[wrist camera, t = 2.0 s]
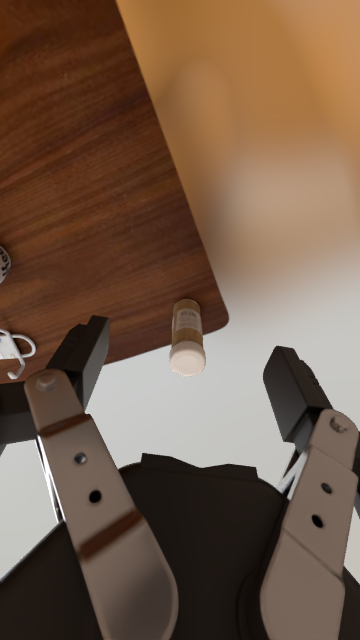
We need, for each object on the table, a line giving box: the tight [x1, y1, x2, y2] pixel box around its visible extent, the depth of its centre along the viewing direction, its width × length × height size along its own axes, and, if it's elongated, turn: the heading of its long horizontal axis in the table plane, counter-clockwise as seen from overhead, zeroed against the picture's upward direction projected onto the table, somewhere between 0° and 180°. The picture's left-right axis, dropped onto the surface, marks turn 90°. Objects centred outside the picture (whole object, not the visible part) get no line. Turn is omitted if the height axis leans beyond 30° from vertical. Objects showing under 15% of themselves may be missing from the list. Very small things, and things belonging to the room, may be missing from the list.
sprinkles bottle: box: [169, 299, 206, 377], centre depth 38 cm, size 5×5×13 cm
